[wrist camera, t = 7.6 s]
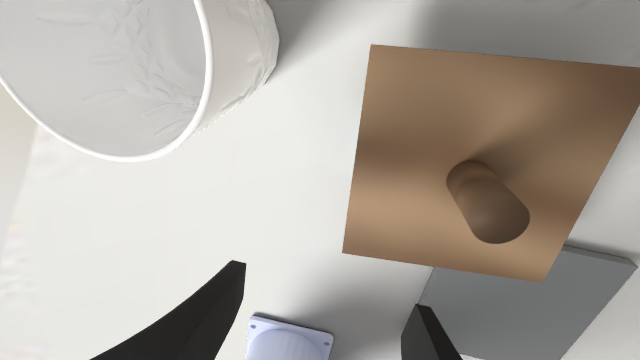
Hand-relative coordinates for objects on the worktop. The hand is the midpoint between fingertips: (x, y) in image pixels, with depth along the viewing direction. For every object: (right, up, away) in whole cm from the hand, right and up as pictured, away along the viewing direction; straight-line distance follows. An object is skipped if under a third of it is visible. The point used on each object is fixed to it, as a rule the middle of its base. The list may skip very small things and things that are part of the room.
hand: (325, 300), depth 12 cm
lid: (+8, +5, +4) cm, 10 cm away
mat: (+14, -4, +11) cm, 18 cm away
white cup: (-6, +14, +6) cm, 16 cm away
